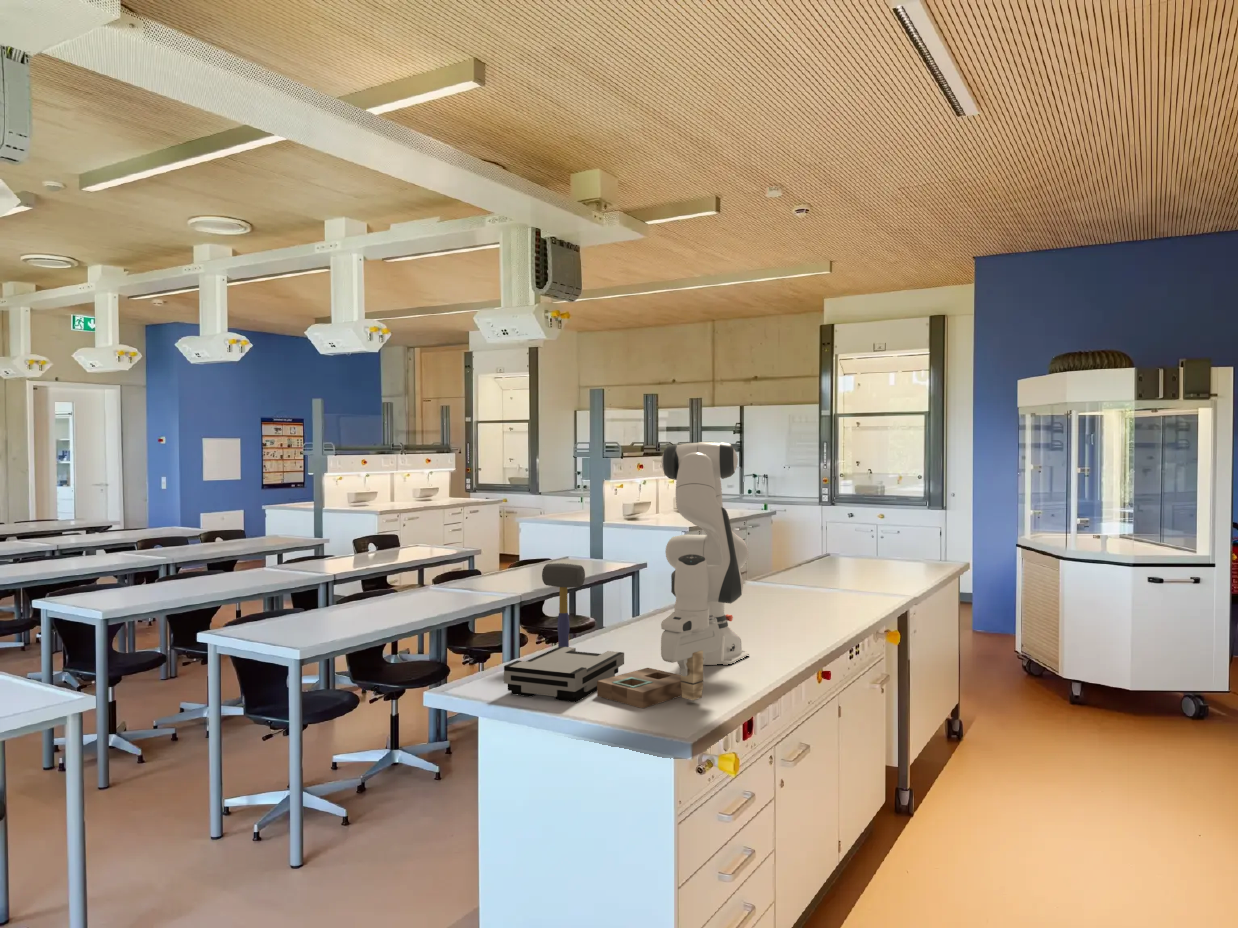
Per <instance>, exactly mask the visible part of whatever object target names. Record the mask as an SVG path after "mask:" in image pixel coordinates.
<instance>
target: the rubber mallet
mask: <svg viewBox="0 0 1238 928" xmlns="http://www.w3.org/2000/svg"><path fill="white" fill-rule="evenodd" d="M585 578H586V572H585V569H584V566H582V565H581V564H580V565H579V564H573V563H559V562H558V563H547V564H545V565H544V566H543V568H542V571H541V579H542V582H543V584H544V585H546V586H548V587H555V588H559V607H558V609H559V613H558V615H557V617H558V618H557V625H556V627H557V636H558V637H557V638H558V642H557V643H558V644H557V645H558V646H557V647H560V646H561V647H570V645H569V638H570V637H569V635H570V630H571V629H570V615H569V612H568V609H569V608H568V603H569V602H568V588H580V587H581V588H582V586H583V585H584V583H585Z"/></svg>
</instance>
